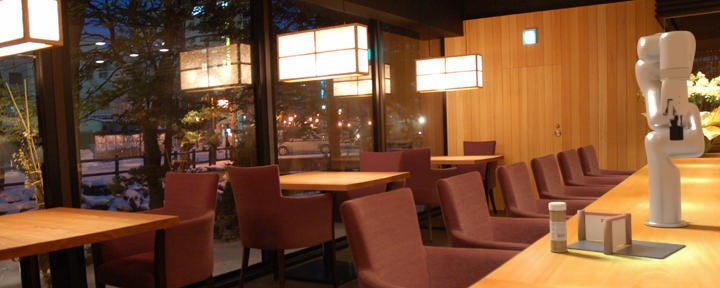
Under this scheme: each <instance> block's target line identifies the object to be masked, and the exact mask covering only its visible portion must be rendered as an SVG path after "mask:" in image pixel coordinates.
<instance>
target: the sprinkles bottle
mask: <svg viewBox="0 0 720 288" xmlns="http://www.w3.org/2000/svg"><path fill="white" fill-rule="evenodd" d="M548 210H549V238H550V249H549V250H550V252H553V253H557V254H558V253H559V254H560V253H561V254H563V253H566V252H567V253H568V249H567V245H568V242H567V241H568V240H567V239H568V236H567V235H568V234H567V233H568V231H567V214H566V212H567V202H563V201H562V202H561V201H554V202H553V201H552V202H549V203H548Z"/></svg>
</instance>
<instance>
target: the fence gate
mask: <svg viewBox="0 0 720 288" xmlns="http://www.w3.org/2000/svg"><path fill="white" fill-rule="evenodd" d="M625 218H626V215H623V214H622V215H617V216H613V217H608V218H604V219H601V222H602V227H603V220H612V239H613V247H615V246H619V245H623V244H626V226H625ZM603 249H604V237H603Z"/></svg>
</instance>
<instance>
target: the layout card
mask: <svg viewBox="0 0 720 288" xmlns="http://www.w3.org/2000/svg"><path fill="white" fill-rule="evenodd" d="M684 246H685V247H686V244H679V243H669V242H659V241H647V240H638V239H637V240H636V239H632V244H631V245H625V244H623V245H619V246H615V247H613V254H612V255H622V256H631V257H639V258H649V259H657V260H663V259H665V258H666V257H668V256H670V255H672V254H674V253H676V252H678V251H679V250H682V248H684ZM568 249H570V250H577V251H578V250H579V251H586V252H587V251H588V252H594V253H603V254H604V249H603V240H594V239H586V240H581V241H578V240H577V241H575V242H574V243H573V242H572V243H570V244H567V250H568Z"/></svg>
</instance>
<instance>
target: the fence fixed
mask: <svg viewBox="0 0 720 288" xmlns="http://www.w3.org/2000/svg"><path fill="white" fill-rule="evenodd" d="M576 211H577V212H576V213H577V214H576V215H577V217H576V218H577V242H578V241H581V240H586V239H594V240H603V237H604V253H603V255H607V256H608V255H609V256H612V255H614V254H613V239H612V220H603V227H602V222H601V219H604V218H608V217H613V216H617V215H626V218H625V226H626V244H625V245H631V244H632V240H633V238H632V237H633V235H632V234H633V233H632V229H633V228H632V213H630V212H604V211H589V210H586V209H585V210H584V209H579V210H576Z"/></svg>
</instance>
